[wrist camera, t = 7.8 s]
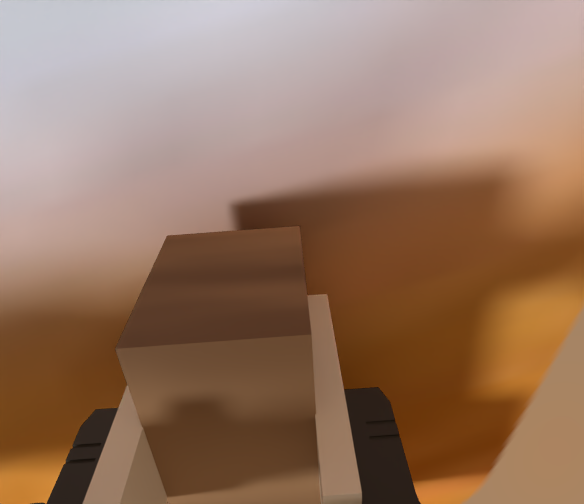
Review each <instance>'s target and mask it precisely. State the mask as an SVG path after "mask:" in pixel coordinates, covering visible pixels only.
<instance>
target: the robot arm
mask: <svg viewBox="0 0 584 504" xmlns="http://www.w3.org/2000/svg"><path fill="white" fill-rule="evenodd" d="M307 297H308V306H309V315H310V325H311V334H312V350H313V368H314V385H315V403H316V414H315V421H316V436H317V452H318V468H319V484H320V495H321V504H421V503H420V502H419V500H418V497H417V495H416V492H415V489H414V485H413V482H412V478H411V475H410V471H409V467H408V464H407V460H406V457H405V453H404V450H403V446H402V443H401V439H400V437H399V432H398V428H397V425H396V423H395V418H394V414H393V411H392V407H391V404H390V401H389V400H388V399H387V398H386V396H385V395H384V394H383V393H382V391H381V390H380V389H379V388H378V387H374V388H360V389H347V390H344V387H343V381H342V376H341V370H340V364H339V359H338V353H337V347H336V341H335V336H334V330H333V324H332V318H331V313H330V307H329V301H328V295H327V294H320V295H307ZM166 501H167V495H166V492H165V489H164V487H163V484H162V481H161V478H160V475H159V472H158V469H157V467H156V464H155V461H154V458H153V455H152V452H151V449H150V446H149V444H148V441H147V438H146V435H145V432H144V429H143V427H142V426H141V423H140V420H139V417H138V414H137V411H136V408H135V405H134V403H133V400H132V397H131V394H130V391H129V388H128V385H127V386H126V389H125V392H124V394H123V397H122V400H121V402H120V405H119V408H110V409H97V410H95V411H94V412H93V413H92V414H91V416H90V417H89V418H88V419H87V420H86V421H85V422H84V423H83V425H82V426H81V427H80V430H79V432H78V434H77V436H76V439H75V441H74V443H73V448H72V449H71V450H70V452H69V454H68V457H67V459H66V464H64V466H63V468H62V470H61V472H60V475H59V477H58V479H57V481H56V484H55V486H54V488H53V490H52V493H51V495H50V497H49V499H48V502H47V504H166ZM32 504H45V503H32Z"/></svg>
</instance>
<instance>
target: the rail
mask: <svg viewBox="0 0 584 504" xmlns="http://www.w3.org/2000/svg"><path fill="white" fill-rule="evenodd" d="M115 351H116V353H117V356H118V359H119V362H120V365H121V368H122V371H123V374H124V377H125V379H126V382H127V385H128V388H129V391H130V394H131V397H132V400H133V403H134V405H135V408H136V411H137V414H138V417H139V420H140V423H141V426H142V427H143V429H144V432H145V435H146V438H147V441H148V444H149V446H150V449H151V452H152V455H153V458H154V461H155V464H156V467H157V469H158V472H159V475H160V478H161V481H162V484H163V487H164V489H165V492H166V495H167V501H168V504H321V495H320V484H319V468H318V452H317V436H316V421H315V414H316V403H315V385H314V368H313V350H312V334H311V325H310V315H309V306H308V297H307V288H306V279H305V270H304V261H303V251H302V242H301V233H300V226H291V227H277V228H264V229H251V230H237V231H224V232H210V233H197V234H183V235H170V236H167V237H166V239H165V241H164V244H163V246H162V248H161V250H160V252H159V254H158V257H157V259H156V261H155V263H154V265H153V267H152V270H151V272H150V274H149V276H148V278H147V280H146V283H145V285H144V287H143V289H142V291H141V293H140V296H139V298H138V300H137V302H136V304H135V307H134V309H133V311H132V313H131V315H130V317H129V320H128V322H127V324H126V326H125V328H124V330H123V333H122V335H121V337H120V339H119V341H118V343H117V346H116V348H115Z"/></svg>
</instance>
